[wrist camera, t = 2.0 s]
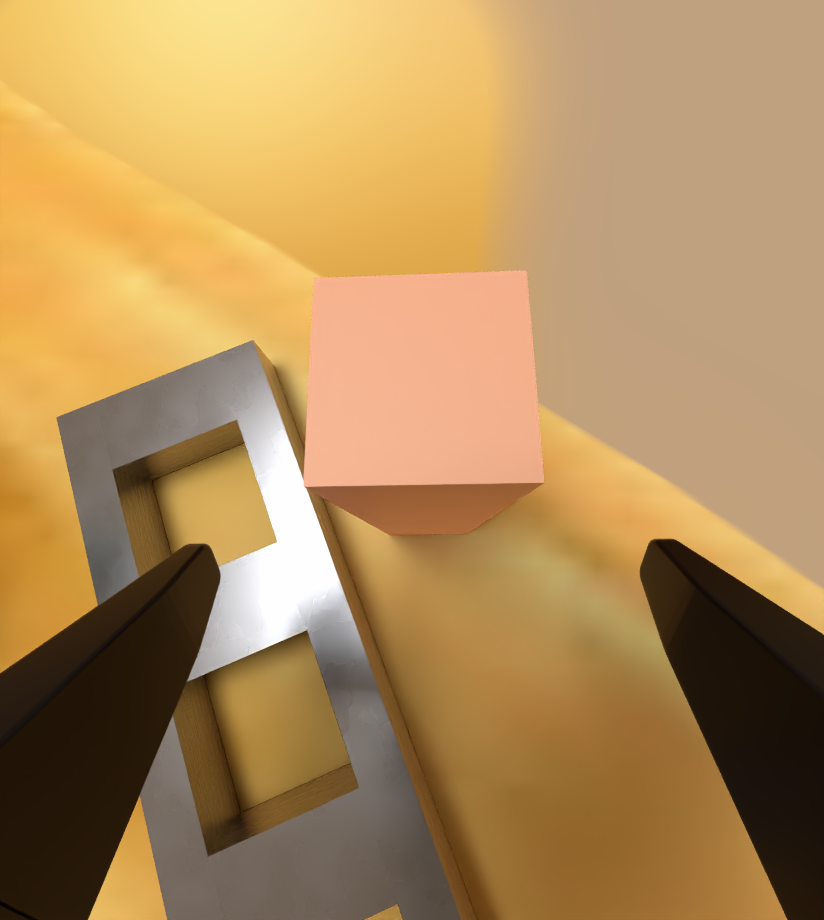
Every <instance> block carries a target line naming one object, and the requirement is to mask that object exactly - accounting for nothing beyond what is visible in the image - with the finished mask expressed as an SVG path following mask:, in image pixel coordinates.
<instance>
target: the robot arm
mask: <svg viewBox="0 0 824 920" xmlns="http://www.w3.org/2000/svg"><path fill="white" fill-rule="evenodd" d="M640 578H641V582H642V585H643V588H644V591H645V594H646V597H647V600H648V603H649V606H650V609H651V612H652V615H653V618H654V621H655V624H656V627H657V630H658V633H659V636H660V639H661V641H662V644H663V647H664V650H665V652H666V655H667V657H668V659H669V662H670V664H671V666H672V668H673V670H674V673H675V675H676V677H677V679H678V681H679V684H680V686H681V688H682V690H683V692H684V695H685V697H686V699H687V701H688V703H689V705H690V708H691V710H692V712H693V714H694V716H695V719H696V721H697V723H698V725H699V727H700V730H701V732H702V734H703V736H704V738H705V740H706V743H707V745H708V747H709V749H710V751H711V754H712V756H713V758H714V760H715V762H716V765H717V767H718V769H719V771H720V773H721V775H722V778H723V780H724V782H725V784H726V786H727V789H728V791H729V793H730V795H731V797H732V800H733V802H734V804H735V806H736V808H737V810H738V813H739V815H740V817H741V819H742V821H743V824H744V826H745V828H746V830H747V832H748V835H749V837H750V839H751V841H752V843H753V845H754V848H755V850H756V852H757V854H758V856H759V859H760V861H761V863H762V865H763V867H764V870H765V872H766V874H767V876H768V878H769V880H770V883H771V885H772V887H773V889H774V891H775V894H776V896H777V898H778V900H779V902H780V905H781V907H782V909H783V911H784V913H785V915H786V918H787V920H824V635H823V634H822V633H820V632H819V631H817V630H816V629H814V628H812V627H811V626H809V625H808V624H806V623H805V622H803V621H802V620H800V619H798V618H797V617H795V616H794V615H792V614H791V613H789V612H788V611H786V610H784V609H783V608H781V607H780V606H778V605H777V604H775V603H774V602H772V601H770V600H769V599H767V598H766V597H764V596H763V595H761V594H760V593H758V592H756V591H755V590H753V589H752V588H750V587H749V586H747V585H746V584H744V583H742V582H741V581H739V580H738V579H736V578H735V577H733V576H732V575H730V574H728V573H727V572H725V571H724V570H722V569H721V568H719V567H718V566H716V565H714V564H713V563H711V562H710V561H708V560H707V559H705V558H704V557H702V556H700V555H699V554H697V553H696V552H694V551H693V550H691V549H690V548H688V547H686V546H685V545H683V544H682V543H680V542H679V541H677V540H675V539H653V540H651V541H650V542H649V544H648V547H647V550H646V553H645V555H644V558H643V561H642V564H641V567H640ZM220 579H221V574H220V569H219V567H218V564H217V562H216V559H215V557H214V554H213V552H212V549H211V547H210V546H209V545H207V544H187V545H185V546H184V547H182V548H181V549H179V550H178V551H176V552H175V553H173V554H172V555H171V556H169V557H168V558H166V559H165V560H163V561H162V562H160V563H159V564H158V565H156V566H155V567H153V568H152V569H150V570H149V571H147V572H146V573H145V574H143V575H142V576H140V577H139V578H137V579H136V580H134V581H133V582H132V583H130V584H129V585H127V586H126V587H124V588H123V589H121V590H120V591H119V592H117V593H116V594H114V595H113V596H111V597H110V598H108V599H107V600H106V601H104V602H103V603H101V604H100V605H98V606H97V607H95V608H94V609H93V610H91V611H90V612H88V613H87V614H85V615H84V616H82V617H81V618H80V619H78V620H77V621H75V622H74V623H72V624H71V625H69V626H68V627H67V628H65V629H64V630H62V631H61V632H59V633H58V634H56V635H55V636H54V637H52V638H51V639H49V640H48V641H46V642H45V643H43V644H42V645H41V646H39V647H38V648H36V649H35V650H33V651H32V652H30V653H29V654H27V655H26V656H25V657H23V658H22V659H20V660H19V661H17V662H16V663H14V664H13V665H12V666H10V667H9V668H7V669H6V670H4V671H3V672H1V673H0V920H88V918H89V916H90V913H91V911H92V908H93V906H94V904H95V901H96V899H97V896H98V894H99V892H100V889H101V887H102V884H103V882H104V880H105V877H106V875H107V872H108V870H109V868H110V865H111V863H112V860H113V858H114V856H115V853H116V851H117V848H118V846H119V844H120V841H121V839H122V836H123V834H124V832H125V829H126V827H127V824H128V822H129V819H130V817H131V815H132V812H133V810H134V807H135V805H136V803H137V800H138V798H139V795H140V793H141V791H142V788H143V786H144V783H145V781H146V779H147V776H148V774H149V771H150V769H151V767H152V764H153V762H154V759H155V757H156V755H157V752H158V750H159V747H160V745H161V743H162V740H163V738H164V735H165V733H166V731H167V728H168V726H169V723H170V721H171V718H172V716H173V714H174V711H175V709H176V706H177V704H178V702H179V699H180V697H181V694H182V692H183V690H184V687H185V685H186V682H187V680H188V678H189V675H190V673H191V670H192V668H193V666H194V663H195V661H196V658H197V655H198V653H199V650H200V647H201V644H202V641H203V638H204V634H205V631H206V628H207V624H208V621H209V618H210V614H211V611H212V608H213V604H214V601H215V598H216V594H217V591H218V588H219V584H220Z"/></svg>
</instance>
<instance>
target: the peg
mask: <svg viewBox="0 0 824 920" xmlns="http://www.w3.org/2000/svg"><path fill="white" fill-rule="evenodd" d="M543 483H544V472H543V460H542V448H541V436H540V424H539V411H538V400H537V387H536V376H535V364H534V352H533V339H532V327H531V315H530V302H529V291H528V279H527V270H523V271H495V272H470V273H469V272H468V273H441V274H415V275H388V276H359V277H335V278H314V282H313V302H312V322H311V341H310V361H309V381H308V401H307V420H306V440H305V460H304V480H303V487H305V488H306V489H308V490H310V491H312V492H313V493H315V494H317V495H319V496H321V497H322V498H324V499H326V500H328V501H330V502H331V503H333V504H335V505H337V506H339V507H340V508H342V509H344V510H346V511H348V512H349V513H351V514H353V515H355V516H357V517H358V518H360V519H362V520H364V521H365V522H367V523H369V524H371V525H373V526H374V527H376V528H378V529H380V530H382V531H383V532H385V533H387V534H389V535H401V534H468V533H469V532H471V531H472V530H474V529H475V528H477V527H478V526H480V525H481V524H483V523H484V522H486V521H487V520H489V519H490V518H492V517H493V516H495V515H496V514H498V513H499V512H501V511H502V510H504V509H505V508H507V507H509V506H510V505H512V504H513V503H515V502H516V501H518V500H519V499H521V498H522V497H524V496H525V495H527V494H528V493H530V492H531V491H533V490H534V489H536V488H537V487H539V486H540V485H542V484H543Z"/></svg>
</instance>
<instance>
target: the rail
mask: <svg viewBox="0 0 824 920" xmlns="http://www.w3.org/2000/svg"><path fill="white" fill-rule="evenodd" d="M57 422H58V426H59V431H60V435H61V440H62V444H63V449H64V453H65V458H66V462H67V467H68V472H69V476H70V481H71V485H72V490H73V494H74V499H75V503H76V508H77V512H78V517H79V521H80V526H81V530H82V535H83V539H84V544H85V549H86V553H87V558H88V562H89V567H90V571H91V576H92V580H93V585H94V589H95V594H96V598H97V603H98V605H100V604H101V603H103V602H104V601H106V600H107V599H108V598H110V597H111V596H113V595H114V594H116V593H117V592H119V591H120V590H121V589H123V588H124V587H126V586H127V585H129V584H130V583H132V582H133V581H134V580H136V579H137V578H139V577H140V576H142V575H143V574H145V573H146V572H147V571H149V570H150V569H152V568H153V567H155V566H156V565H158V564H159V563H160V562H162V561H163V560H165V559H166V558H168V557H169V556H171V552H170V548H169V545H168V541H167V537H166V533H165V530H164V526H163V522H162V519H161V515H160V511H159V507H158V504H157V500H156V496H155V493H154V489H153V485H152V481H151V480H154V479H156V478H159V477H161V476H164V475H166V474H168V473H171V472H173V471H176V470H178V469H181V468H183V467H186V466H188V465H191V464H193V463H196V462H198V461H201V460H203V459H205V458H208V457H210V456H213V455H215V454H218V453H220V452H223V451H225V450H228V449H230V448H233V447H235V446H238V445H240V444H242V443H245V445H246V448H247V451H248V454H249V457H250V460H251V463H252V466H253V469H254V472H255V475H256V478H257V481H258V484H259V487H260V490H261V493H262V496H263V499H264V502H265V505H266V508H267V511H268V514H269V517H270V520H271V523H272V526H273V529H274V533H275V536H276V539H277V542H276V543H274V544H272V545H269V546H267V547H264V548H262V549H260V550H257V551H255V552H253V553H250V554H248V555H245V556H243V557H241V558H238V559H236V560H233V561H231V562H229V563H226V564H224V565H222V566H219V569H220V574H221V579H220V584H219V588H218V591H217V594H216V598H215V601H214V604H213V608H212V611H211V614H210V618H209V621H208V624H207V628H206V631H205V634H204V638H203V641H202V644H201V647H200V650H199V653H198V655H197V658H196V661H195V663H194V666H193V668H192V670H191V673H190V675H189V678H188V680H187V682H186V685H185V687H184V690H183V692H182V694H181V697H180V699H179V702H178V704H177V706H176V709H175V711H174V714H173V716H172V718H171V721H170V723H169V726H168V728H167V731H166V733H165V735H164V738H163V740H162V743H161V745H160V747H159V750H158V752H157V755H156V757H155V759H154V762H153V764H152V767H151V769H150V771H149V774H148V776H147V779H146V781H145V783H144V786H143V788H142V791H141V793H140V798H141V802H142V807H143V811H144V816H145V820H146V825H147V829H148V834H149V838H150V843H151V847H152V852H153V857H154V861H155V866H156V870H157V875H158V879H159V884H160V888H161V893H162V897H163V902H164V906H165V911H166V915H167V920H364V919H366V918H368V917H371V916H373V915H375V914H377V913H379V912H381V911H383V910H385V909H388V908H390V907H392V906H394V905H396V904H398V906H399V909H400V912H401V915H402V918H403V920H477V918H476V916H475V913H474V910H473V907H472V905H471V902H470V899H469V896H468V894H467V891H466V888H465V886H464V883H463V880H462V877H461V875H460V872H459V869H458V866H457V864H456V861H455V858H454V856H453V853H452V850H451V847H450V845H449V842H448V839H447V836H446V834H445V831H444V828H443V826H442V823H441V820H440V817H439V815H438V812H437V809H436V807H435V804H434V801H433V798H432V796H431V793H430V790H429V787H428V785H427V782H426V779H425V777H424V774H423V771H422V768H421V766H420V763H419V760H418V757H417V755H416V752H415V749H414V747H413V744H412V741H411V738H410V736H409V733H408V730H407V727H406V725H405V722H404V719H403V717H402V714H401V711H400V708H399V706H398V703H397V700H396V697H395V695H394V692H393V689H392V687H391V684H390V681H389V678H388V676H387V673H386V670H385V668H384V665H383V662H382V659H381V657H380V654H379V651H378V648H377V646H376V643H375V640H374V638H373V635H372V632H371V629H370V627H369V624H368V621H367V618H366V616H365V613H364V610H363V608H362V605H361V602H360V599H359V597H358V594H357V591H356V588H355V586H354V583H353V580H352V578H351V575H350V572H349V569H348V567H347V564H346V561H345V559H344V556H343V553H342V550H341V548H340V545H339V542H338V539H337V537H336V534H335V531H334V529H333V526H332V523H331V520H330V518H329V515H328V512H327V509H326V507H325V504H324V501H323V499H322V497H321V496H319V495H317V494H315V493H313V492H312V491H310V490H308V489H306V488H305V487H303V480H304V460H305V449H304V447H303V444H302V441H301V439H300V436H299V433H298V430H297V428H296V425H295V422H294V420H293V417H292V414H291V411H290V409H289V406H288V403H287V400H286V398H285V395H284V392H283V390H282V387H281V384H280V381H279V379H278V376H277V373H276V370H275V368H274V365H273V364H272V363H271V362H270V360H269V359H268V358H267V357H266V355H265V354H264V353H263V352H262V351H261V349H260V348H259V347H258V346H257V344H256V343H255V342H254V341H253V340H252V341H249V342H247V343H244V344H242V345H239V346H237V347H234V348H232V349H229V350H227V351H224V352H222V353H219V354H216V355H214V356H211V357H209V358H206V359H204V360H201V361H199V362H196V363H194V364H191V365H188V366H186V367H183V368H181V369H178V370H176V371H173V372H171V373H168V374H166V375H163V376H161V377H158V378H155V379H153V380H150V381H148V382H145V383H143V384H140V385H138V386H135V387H133V388H130V389H127V390H125V391H122V392H120V393H117V394H115V395H112V396H110V397H107V398H105V399H102V400H100V401H97V402H94V403H92V404H89V405H87V406H84V407H82V408H79V409H77V410H74V411H72V412H69V413H66V414H64V415H61V416H59V417H57ZM306 630H307V632H308V635H309V638H310V641H311V644H312V647H313V650H314V653H315V656H316V659H317V662H318V665H319V668H320V671H321V674H322V677H323V680H324V683H325V686H326V689H327V692H328V695H329V698H330V701H331V704H332V707H333V710H334V713H335V716H336V719H337V722H338V725H339V728H340V731H341V734H342V737H343V740H344V743H345V746H346V749H347V752H348V755H349V758H350V761H351V763H350V764H348V765H346V766H344V767H342V768H339V769H337V770H335V771H333V772H330V773H328V774H326V775H324V776H322V777H319V778H317V779H315V780H313V781H310V782H308V783H306V784H304V785H302V786H299V787H297V788H295V789H293V790H291V791H288V792H286V793H284V794H282V795H279V796H277V797H275V798H273V799H271V800H268V801H266V802H264V803H262V804H259V805H257V806H255V807H253V808H251V809H248V810H246V811H244V812H242V813H241V812H240V809H239V805H238V801H237V798H236V794H235V790H234V786H233V783H232V779H231V775H230V772H229V768H228V764H227V760H226V757H225V753H224V749H223V745H222V742H221V738H220V734H219V731H218V727H217V723H216V719H215V716H214V712H213V708H212V705H211V701H210V697H209V693H208V690H207V686H206V682H205V679H204V674H206V673H209V672H211V671H213V670H216V669H218V668H220V667H223V666H225V665H227V664H229V663H232V662H234V661H236V660H239V659H241V658H243V657H246V656H248V655H250V654H253V653H255V652H257V651H260V650H262V649H264V648H267V647H269V646H271V645H273V644H276V643H278V642H280V641H283V640H285V639H287V638H290V637H292V636H294V635H297V634H299V633H301V632H304V631H306Z"/></svg>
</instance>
